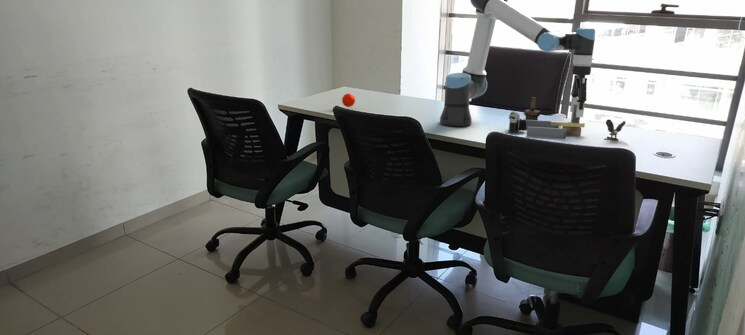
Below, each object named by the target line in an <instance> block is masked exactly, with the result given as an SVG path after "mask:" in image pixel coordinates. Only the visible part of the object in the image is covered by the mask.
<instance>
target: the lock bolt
mask: <svg viewBox="0 0 745 335" xmlns="http://www.w3.org/2000/svg"><path fill="white" fill-rule="evenodd" d="M576 112H577V104H573V108H572V112H571V115H570V116H571V118H570V121H557V120H550V121H551V126H561V127H563V126H565V127H581V128H585V126H586V122H580V121H581V120H580V119H581V117H576Z"/></svg>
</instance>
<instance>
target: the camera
mask: <svg viewBox="0 0 745 335" xmlns="http://www.w3.org/2000/svg"><path fill="white" fill-rule="evenodd" d="M520 117H521V116H520V113H519V112H517V111H513V110H512V111H511V112H510V114H509V115H508V119H509V126H508V129H509V130H508V133H509V135H515V134H516V132H520V131H527V129H526V120H525V118H523V119H522V118H520Z"/></svg>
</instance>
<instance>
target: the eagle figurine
mask: <svg viewBox="0 0 745 335" xmlns="http://www.w3.org/2000/svg"><path fill="white" fill-rule="evenodd" d="M605 125H606V126H607V131H608V132H609V136H606V138H604V140H613V141H614V140H615V141H619V139H618V138H617V135H618V133H619V132H621V131H622V128H623V127H624V126H625V125H626V120H623V121H622V122H620V124H619V123H618V125H617V126H616V127H615V126H614V122H613V121H612V120H611V119H610V118H609V119H606V121H605ZM613 136H614V137H613Z"/></svg>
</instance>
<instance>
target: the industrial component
mask: <svg viewBox="0 0 745 335" xmlns="http://www.w3.org/2000/svg"><path fill="white" fill-rule="evenodd" d="M530 99H531V100H530V108H529V109H525V110H524V112H523V115H524V116H525V118H524V119H525V120H538V117H540V115H541V112H540V110H537V109H536V101H537V97H535V96H532V97H531V98H530Z"/></svg>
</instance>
